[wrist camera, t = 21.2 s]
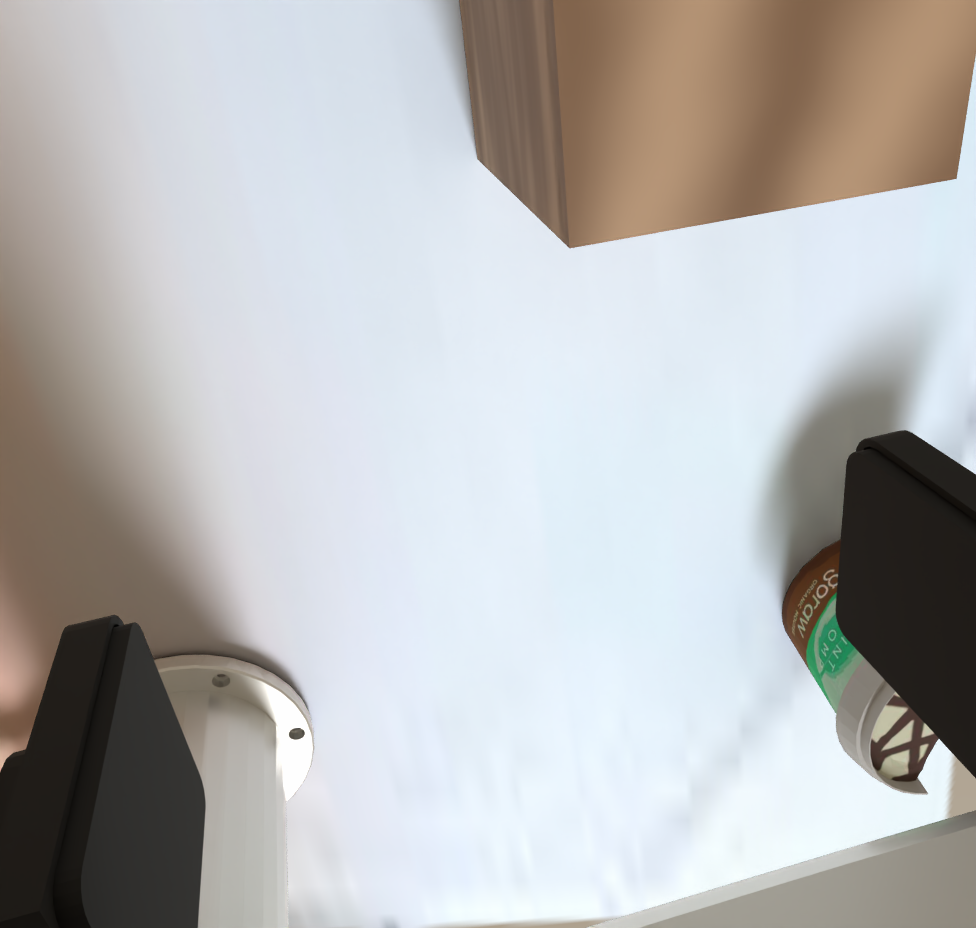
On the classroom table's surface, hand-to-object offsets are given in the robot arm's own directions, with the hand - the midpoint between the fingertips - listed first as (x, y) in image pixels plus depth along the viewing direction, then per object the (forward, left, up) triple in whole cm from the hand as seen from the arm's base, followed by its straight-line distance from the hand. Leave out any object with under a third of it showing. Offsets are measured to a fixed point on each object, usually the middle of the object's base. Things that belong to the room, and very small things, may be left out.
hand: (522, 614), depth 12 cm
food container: (+22, -28, -28) cm, 45 cm away
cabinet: (+11, +7, -28) cm, 31 cm away
